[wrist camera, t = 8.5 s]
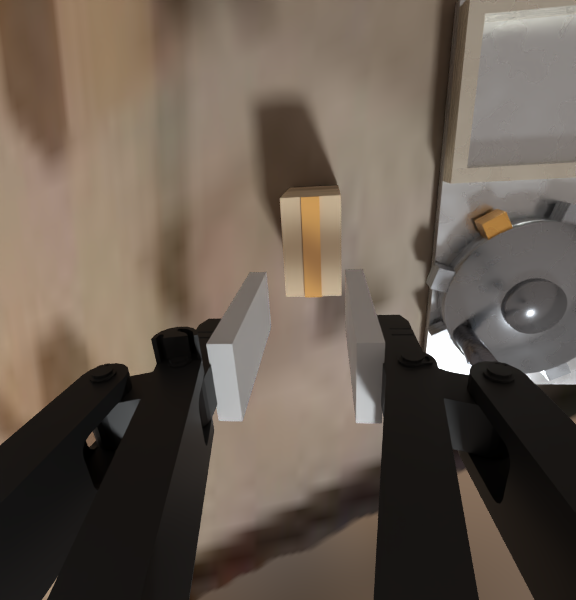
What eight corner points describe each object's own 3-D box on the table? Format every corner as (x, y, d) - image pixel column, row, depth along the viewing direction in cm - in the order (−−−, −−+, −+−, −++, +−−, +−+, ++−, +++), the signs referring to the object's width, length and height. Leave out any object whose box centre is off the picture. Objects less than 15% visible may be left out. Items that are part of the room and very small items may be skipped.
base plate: (455, 3, 25) (471, -15, 22) (684, -20, 24) (731, -43, 21) (420, 377, 36) (428, 395, 34) (574, 378, 35) (595, 397, 32)
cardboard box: (289, 187, 31) (279, 198, 24) (337, 185, 30) (341, 195, 24) (293, 268, 33) (285, 297, 27) (338, 266, 33) (341, 296, 26)
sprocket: (392, 261, 31) (409, 291, 25) (591, 159, 27) (675, 162, 20) (463, 398, 35) (493, 453, 29) (644, 328, 31) (727, 375, 25)
